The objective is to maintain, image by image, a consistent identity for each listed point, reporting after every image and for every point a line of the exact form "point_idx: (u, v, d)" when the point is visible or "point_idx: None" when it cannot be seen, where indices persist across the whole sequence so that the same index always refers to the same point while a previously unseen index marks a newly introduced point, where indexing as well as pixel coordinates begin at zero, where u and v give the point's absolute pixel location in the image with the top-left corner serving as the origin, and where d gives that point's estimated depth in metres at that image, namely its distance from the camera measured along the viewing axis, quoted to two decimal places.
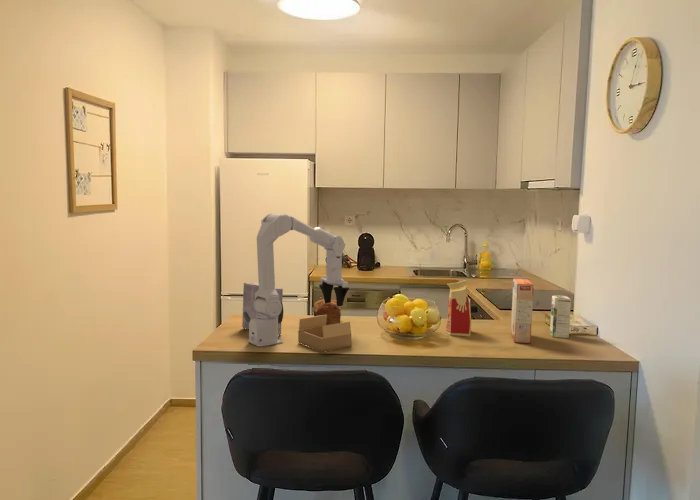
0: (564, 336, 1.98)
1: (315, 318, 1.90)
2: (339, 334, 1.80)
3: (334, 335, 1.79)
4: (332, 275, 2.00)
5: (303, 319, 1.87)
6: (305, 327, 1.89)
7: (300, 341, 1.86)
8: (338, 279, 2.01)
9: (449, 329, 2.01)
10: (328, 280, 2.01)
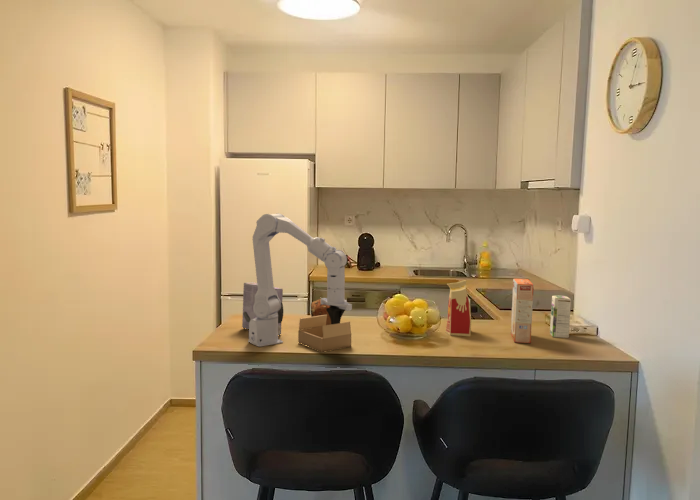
0: (564, 336, 1.98)
1: (315, 318, 1.90)
2: (339, 334, 1.80)
3: (334, 335, 1.79)
4: (333, 296, 1.76)
5: (303, 319, 1.87)
6: (305, 327, 1.89)
7: (300, 341, 1.86)
8: (341, 301, 1.77)
9: (449, 329, 2.01)
10: (329, 302, 1.77)
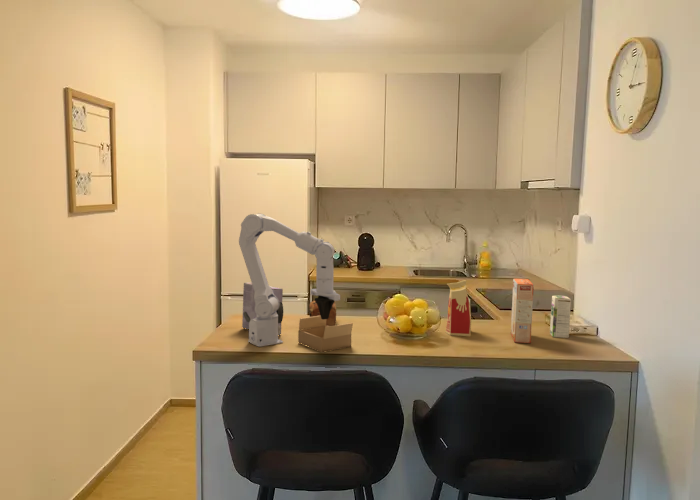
0: (564, 336, 1.98)
1: (315, 318, 1.90)
2: (339, 335, 1.80)
3: (334, 336, 1.78)
4: (322, 286, 1.81)
5: (303, 319, 1.87)
6: (305, 327, 1.89)
7: (300, 341, 1.86)
8: (329, 291, 1.82)
9: (449, 329, 2.01)
10: (318, 292, 1.82)
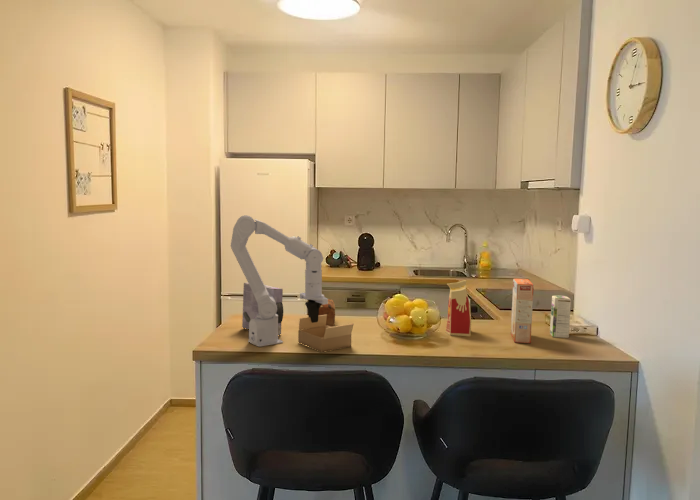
0: (564, 336, 1.98)
1: None
2: (339, 335, 1.80)
3: (334, 336, 1.78)
4: (311, 290, 1.86)
5: (303, 319, 1.87)
6: (305, 327, 1.89)
7: (300, 341, 1.86)
8: (318, 295, 1.87)
9: (449, 329, 2.01)
10: (307, 296, 1.87)
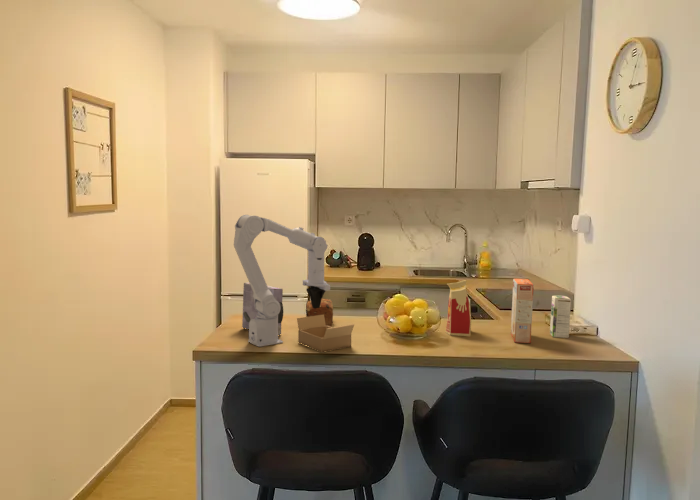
0: (564, 336, 1.98)
1: (312, 317, 1.92)
2: (339, 335, 1.80)
3: (334, 336, 1.78)
4: (314, 277, 1.92)
5: (300, 318, 1.89)
6: (305, 327, 1.89)
7: (300, 341, 1.86)
8: (320, 282, 1.93)
9: (449, 329, 2.01)
10: (310, 283, 1.93)
